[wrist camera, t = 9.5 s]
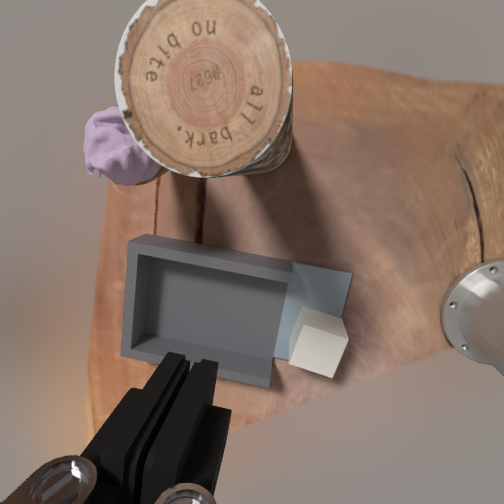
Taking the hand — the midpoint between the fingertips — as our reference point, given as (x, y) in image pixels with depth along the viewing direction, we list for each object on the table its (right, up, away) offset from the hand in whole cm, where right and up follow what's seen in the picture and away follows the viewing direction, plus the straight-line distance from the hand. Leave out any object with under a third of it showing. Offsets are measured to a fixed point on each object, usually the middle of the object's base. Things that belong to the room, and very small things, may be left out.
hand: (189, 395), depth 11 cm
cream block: (+10, -5, +30) cm, 32 cm away
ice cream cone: (-7, +16, +27) cm, 32 cm away
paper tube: (+3, +17, +26) cm, 31 cm away
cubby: (0, -2, +31) cm, 31 cm away
